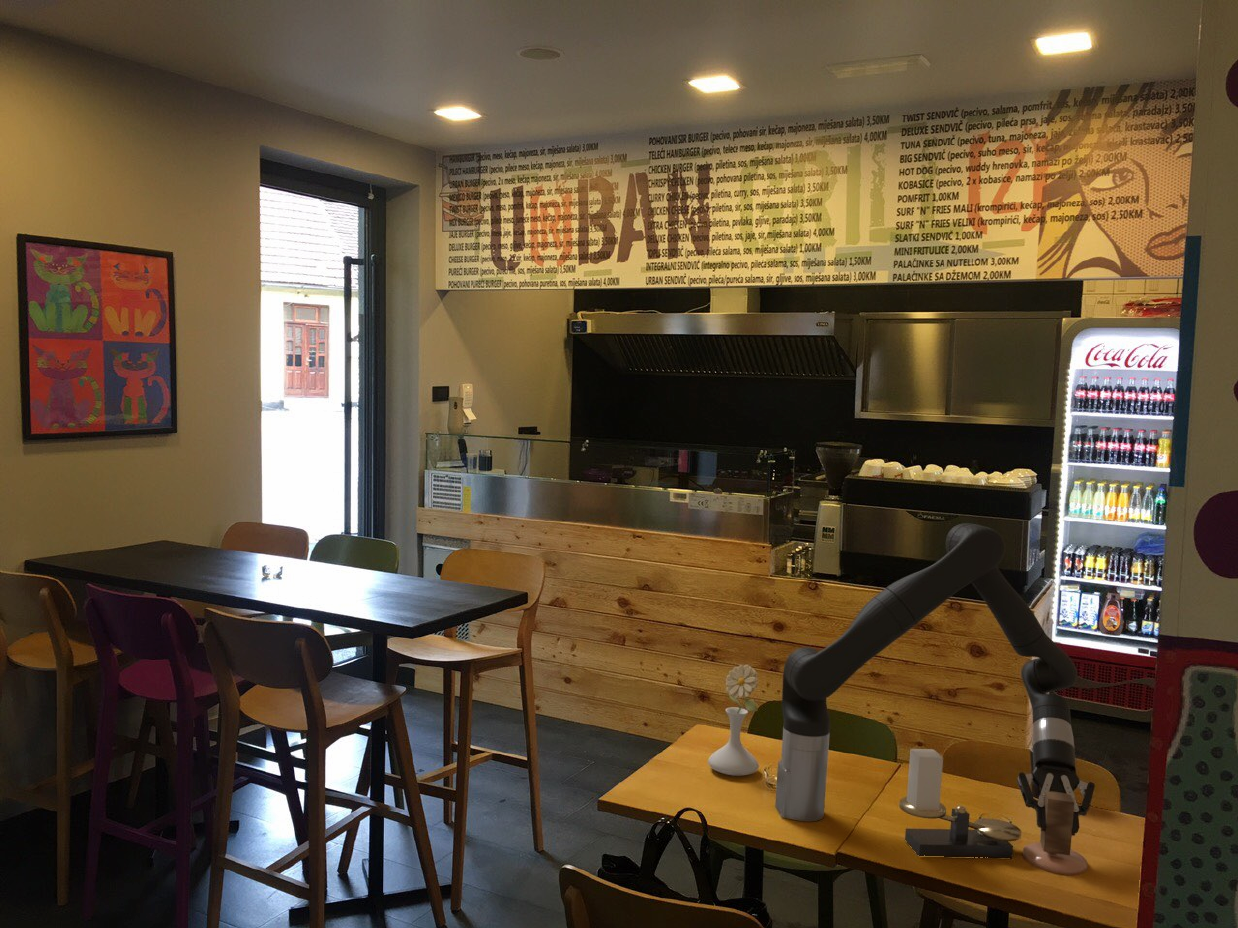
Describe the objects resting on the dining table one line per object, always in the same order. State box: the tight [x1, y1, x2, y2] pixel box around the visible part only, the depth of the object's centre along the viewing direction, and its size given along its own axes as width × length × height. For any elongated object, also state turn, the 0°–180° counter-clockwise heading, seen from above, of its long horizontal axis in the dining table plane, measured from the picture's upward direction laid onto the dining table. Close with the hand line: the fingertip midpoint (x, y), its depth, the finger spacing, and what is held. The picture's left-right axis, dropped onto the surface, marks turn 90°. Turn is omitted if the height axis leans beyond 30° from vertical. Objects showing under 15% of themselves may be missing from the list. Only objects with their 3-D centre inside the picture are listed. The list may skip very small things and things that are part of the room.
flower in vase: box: [707, 664, 760, 777], centre depth 223 cm, size 13×11×25 cm
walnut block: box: [1039, 791, 1075, 855], centre depth 187 cm, size 4×4×10 cm
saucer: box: [1022, 842, 1088, 876], centre depth 187 cm, size 11×11×1 cm
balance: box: [899, 796, 1022, 860], centre depth 189 cm, size 23×8×8 cm, turn 95°
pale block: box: [906, 748, 944, 810], centre depth 188 cm, size 4×4×10 cm
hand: (1058, 831), depth 185 cm, fingers closed on walnut block, 4 cm apart
